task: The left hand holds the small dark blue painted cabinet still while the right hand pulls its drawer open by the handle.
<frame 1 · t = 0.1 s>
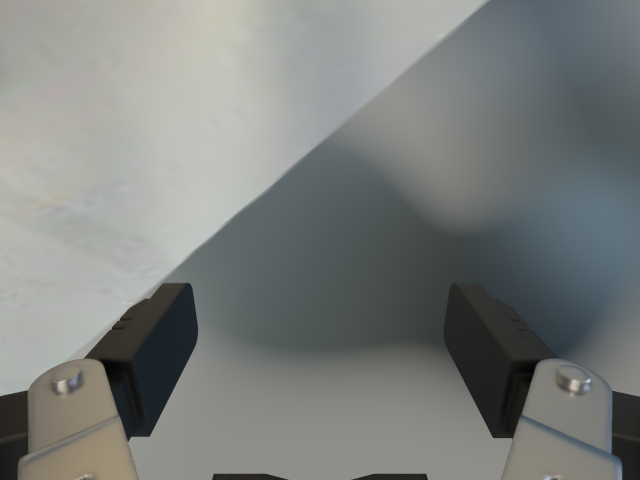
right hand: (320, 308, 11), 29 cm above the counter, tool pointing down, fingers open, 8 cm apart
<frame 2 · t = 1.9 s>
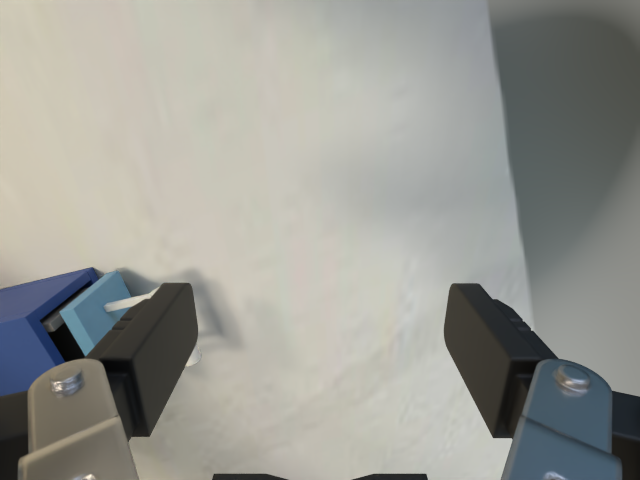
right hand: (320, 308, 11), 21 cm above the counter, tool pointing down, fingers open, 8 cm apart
cabinet: (45, 333, 37), on the counter
drawer: (77, 346, 33), point 4 cm above the counter, slide at 1.7 cm
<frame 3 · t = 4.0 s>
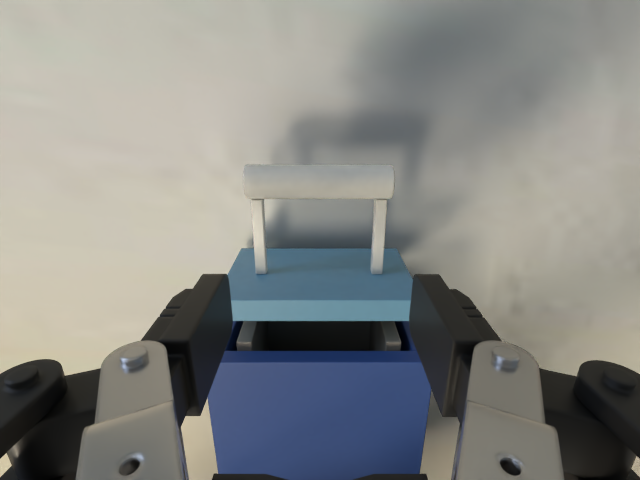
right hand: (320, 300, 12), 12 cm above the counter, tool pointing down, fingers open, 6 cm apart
cabinet: (319, 373, 29), on the counter, touching left hand
drawer: (319, 336, 22), point 4 cm above the counter, slide at 1.7 cm
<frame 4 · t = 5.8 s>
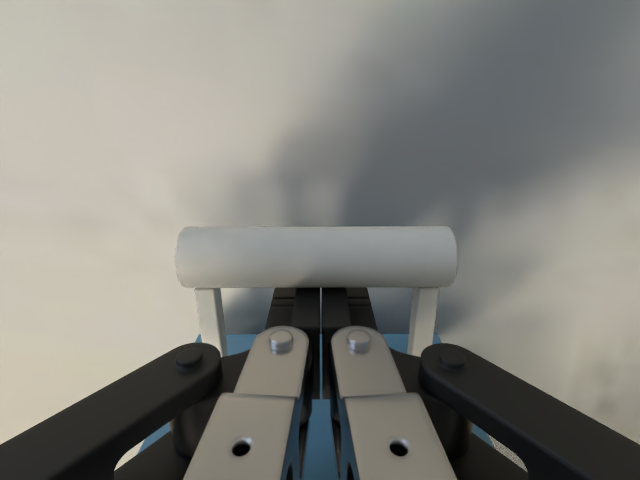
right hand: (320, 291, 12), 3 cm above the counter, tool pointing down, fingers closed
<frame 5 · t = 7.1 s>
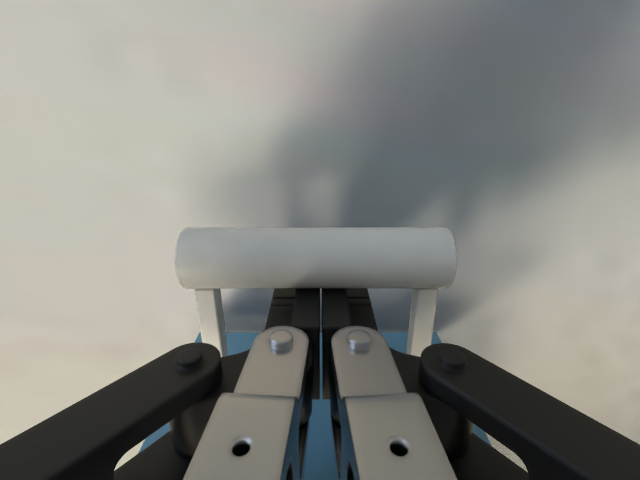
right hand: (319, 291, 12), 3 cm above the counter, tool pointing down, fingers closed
drawer: (317, 479, 14), point 4 cm above the counter, slide at 8.0 cm, touching right hand
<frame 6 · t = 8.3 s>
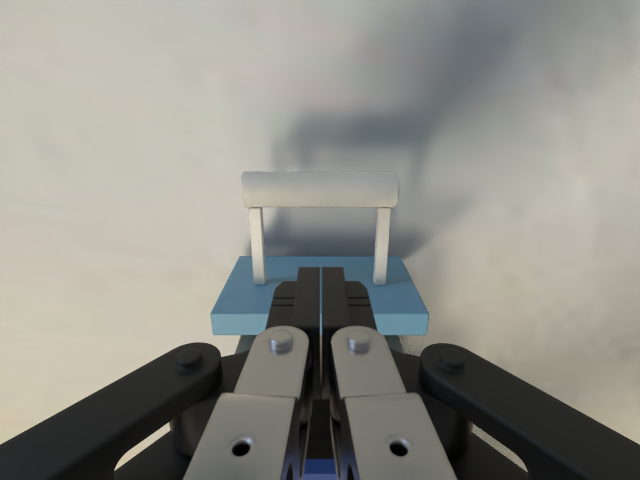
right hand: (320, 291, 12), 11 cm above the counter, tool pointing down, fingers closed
cabinet: (319, 443, 30), on the counter, touching left hand
drawer: (319, 348, 21), point 4 cm above the counter, slide at 8.1 cm
when the left hand's fingers open (4 cm above the counter, at t = 8.7 s): cabinet stays where it is, on the counter.
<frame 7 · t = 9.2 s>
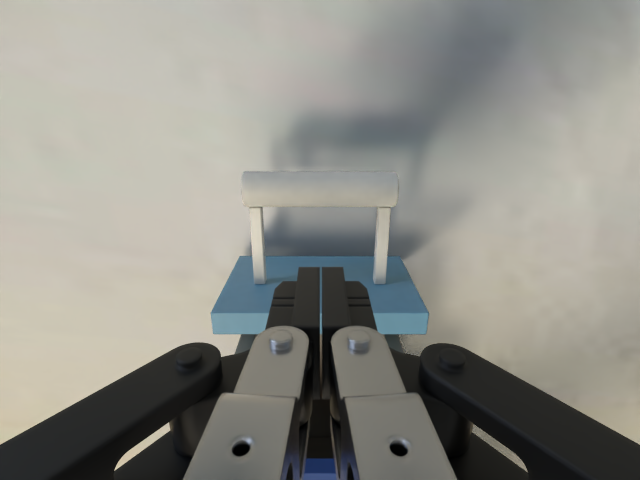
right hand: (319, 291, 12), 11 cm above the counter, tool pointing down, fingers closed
cabinet: (319, 443, 30), on the counter
drawer: (319, 347, 22), point 4 cm above the counter, slide at 8.1 cm
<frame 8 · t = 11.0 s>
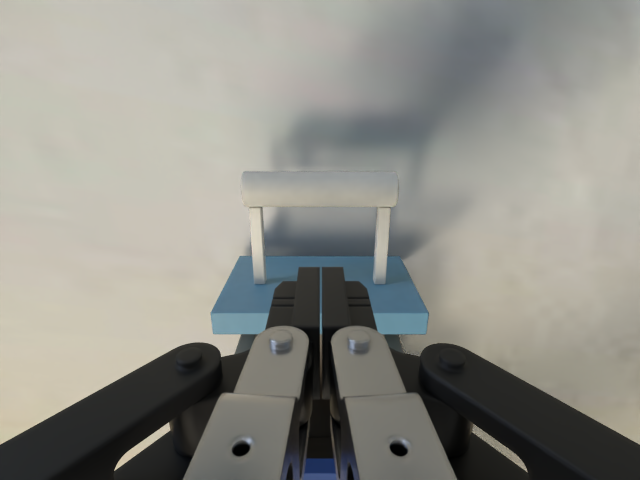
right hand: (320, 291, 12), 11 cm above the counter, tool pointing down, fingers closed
cabinet: (319, 443, 30), on the counter
drawer: (319, 347, 22), point 4 cm above the counter, slide at 8.1 cm
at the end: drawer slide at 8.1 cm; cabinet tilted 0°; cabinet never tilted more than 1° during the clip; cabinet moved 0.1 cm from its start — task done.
